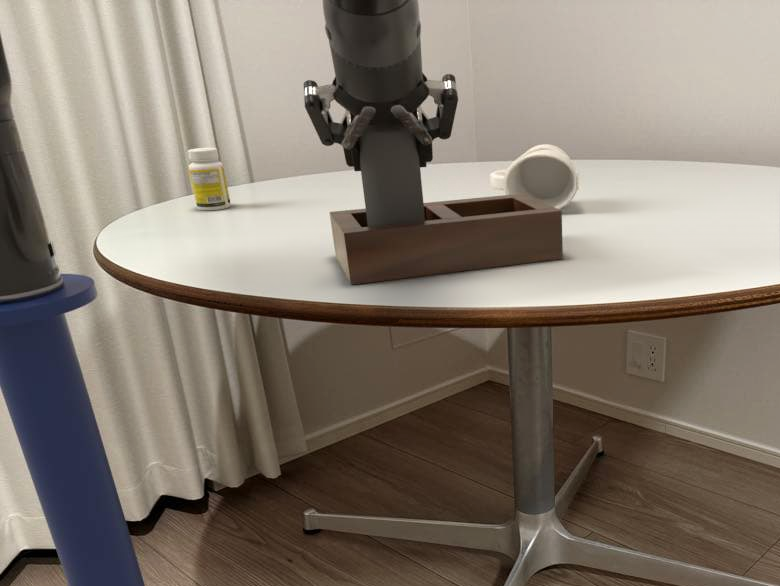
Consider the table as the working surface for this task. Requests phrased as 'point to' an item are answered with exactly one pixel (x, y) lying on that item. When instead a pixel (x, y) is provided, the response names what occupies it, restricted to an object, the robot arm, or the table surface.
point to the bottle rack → (448, 238)
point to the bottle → (391, 175)
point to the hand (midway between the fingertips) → (389, 162)
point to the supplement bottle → (208, 179)
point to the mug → (540, 176)
